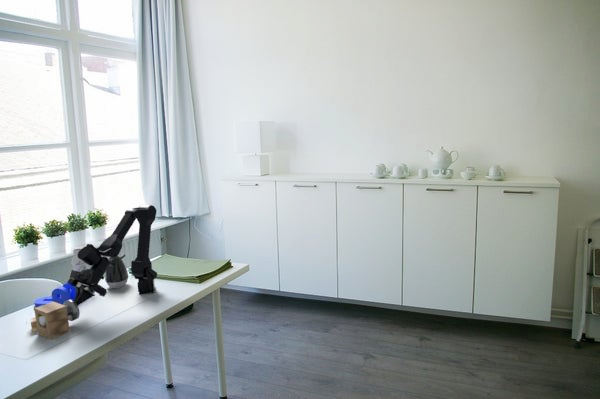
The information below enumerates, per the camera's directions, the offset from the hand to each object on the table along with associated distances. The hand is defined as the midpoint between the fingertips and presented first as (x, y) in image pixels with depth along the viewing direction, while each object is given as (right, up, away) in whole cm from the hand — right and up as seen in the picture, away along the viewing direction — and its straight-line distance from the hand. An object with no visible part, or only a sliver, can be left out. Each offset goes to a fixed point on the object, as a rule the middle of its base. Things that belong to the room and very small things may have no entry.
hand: (74, 306), depth 172 cm
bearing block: (-4, -8, -6) cm, 11 cm away
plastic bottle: (-14, -2, +36) cm, 39 cm away
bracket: (-19, -4, +22) cm, 30 cm away
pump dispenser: (0, 0, +41) cm, 41 cm away
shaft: (-3, -6, -4) cm, 8 cm away
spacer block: (-13, -8, -2) cm, 15 cm away
